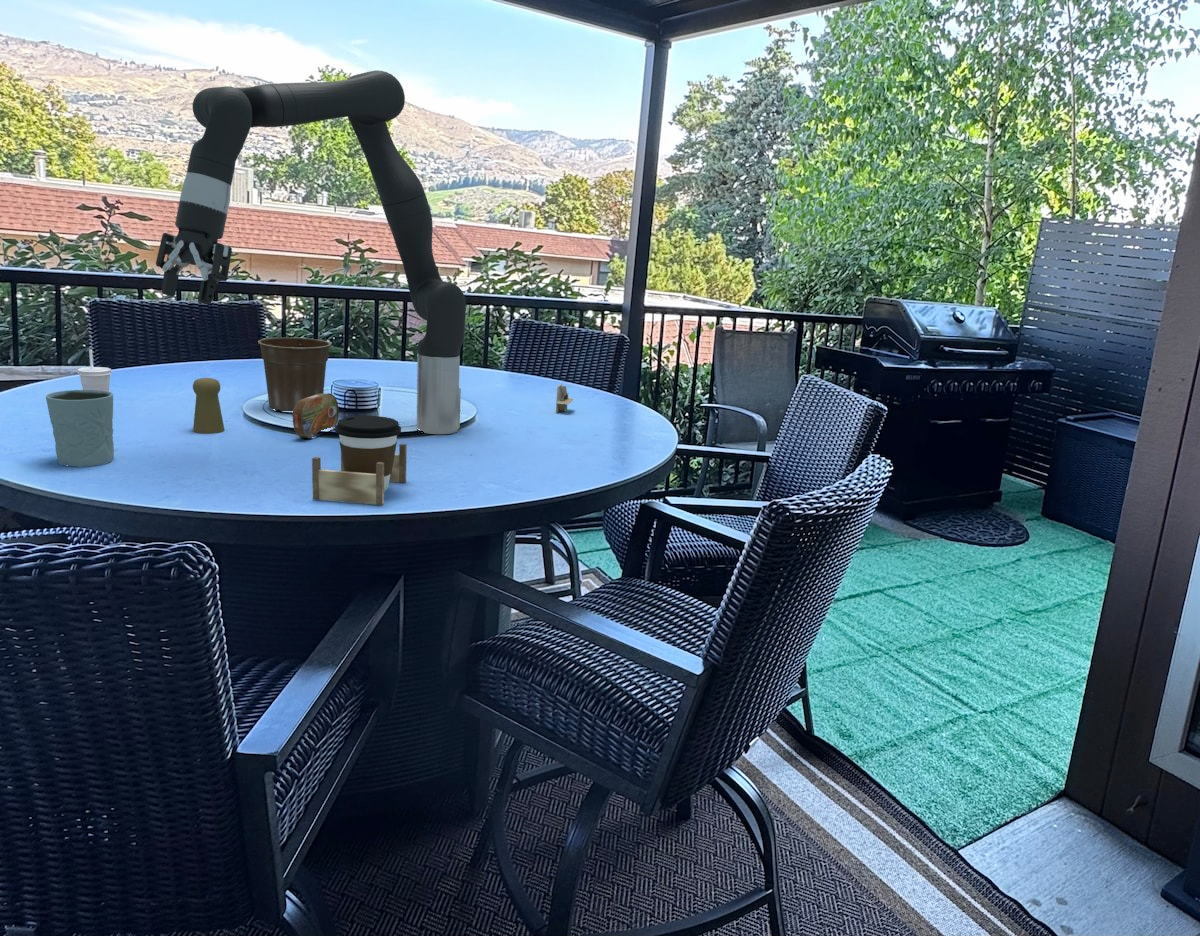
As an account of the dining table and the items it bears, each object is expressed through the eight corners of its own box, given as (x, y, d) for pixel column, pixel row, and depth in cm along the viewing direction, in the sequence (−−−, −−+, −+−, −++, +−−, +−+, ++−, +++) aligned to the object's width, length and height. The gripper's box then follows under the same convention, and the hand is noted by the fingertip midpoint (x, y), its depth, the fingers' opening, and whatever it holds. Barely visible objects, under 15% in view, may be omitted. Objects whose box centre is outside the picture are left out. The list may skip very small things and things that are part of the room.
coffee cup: (321, 492, 142) (320, 422, 139) (361, 477, 152) (361, 412, 149) (376, 503, 139) (376, 432, 136) (413, 487, 149) (414, 420, 145)
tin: (304, 442, 173) (303, 402, 171) (290, 440, 174) (289, 400, 172) (340, 428, 187) (339, 390, 185) (327, 426, 188) (326, 389, 186)
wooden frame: (406, 481, 152) (406, 443, 150) (382, 505, 138) (382, 464, 136) (343, 476, 152) (342, 438, 150) (312, 499, 138) (312, 458, 136)
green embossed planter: (71, 471, 144) (64, 402, 140) (40, 460, 149) (33, 392, 146) (130, 460, 152) (125, 395, 149) (99, 450, 157) (93, 386, 154)
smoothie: (74, 413, 183) (68, 348, 179) (101, 408, 189) (95, 346, 185) (95, 417, 181) (89, 352, 177) (121, 412, 187) (116, 349, 183)
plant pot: (340, 414, 201) (340, 346, 197) (270, 417, 192) (267, 347, 188) (320, 401, 214) (319, 337, 210) (253, 404, 205) (250, 337, 201)
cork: (231, 430, 179) (228, 378, 176) (207, 435, 173) (204, 382, 170) (210, 425, 181) (207, 375, 178) (186, 430, 176) (183, 378, 173)
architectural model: (572, 412, 225) (574, 384, 223) (567, 417, 218) (569, 388, 217) (560, 410, 226) (561, 383, 224) (554, 415, 219) (556, 387, 217)
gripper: (251, 218, 145) (233, 310, 146) (191, 207, 150) (174, 297, 151) (217, 204, 138) (198, 302, 139) (155, 193, 143) (137, 288, 144)
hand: (185, 299), depth 145 cm, fingers open, 8 cm apart
